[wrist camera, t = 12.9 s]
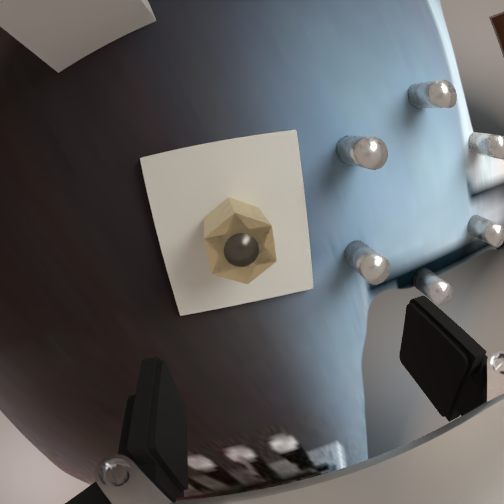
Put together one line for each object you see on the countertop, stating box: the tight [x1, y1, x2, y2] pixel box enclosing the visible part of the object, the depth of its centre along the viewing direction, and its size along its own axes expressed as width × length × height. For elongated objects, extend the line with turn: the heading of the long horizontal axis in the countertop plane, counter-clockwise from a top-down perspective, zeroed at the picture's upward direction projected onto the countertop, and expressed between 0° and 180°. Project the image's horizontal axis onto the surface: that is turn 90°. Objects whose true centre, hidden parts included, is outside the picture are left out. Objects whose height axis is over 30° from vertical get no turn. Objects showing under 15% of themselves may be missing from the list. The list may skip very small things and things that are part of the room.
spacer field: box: [336, 80, 504, 306], centre depth 29 cm, size 25×22×5 cm
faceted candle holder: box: [204, 197, 277, 284], centre depth 26 cm, size 6×5×6 cm
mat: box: [140, 130, 313, 316], centre depth 30 cm, size 16×14×1 cm
